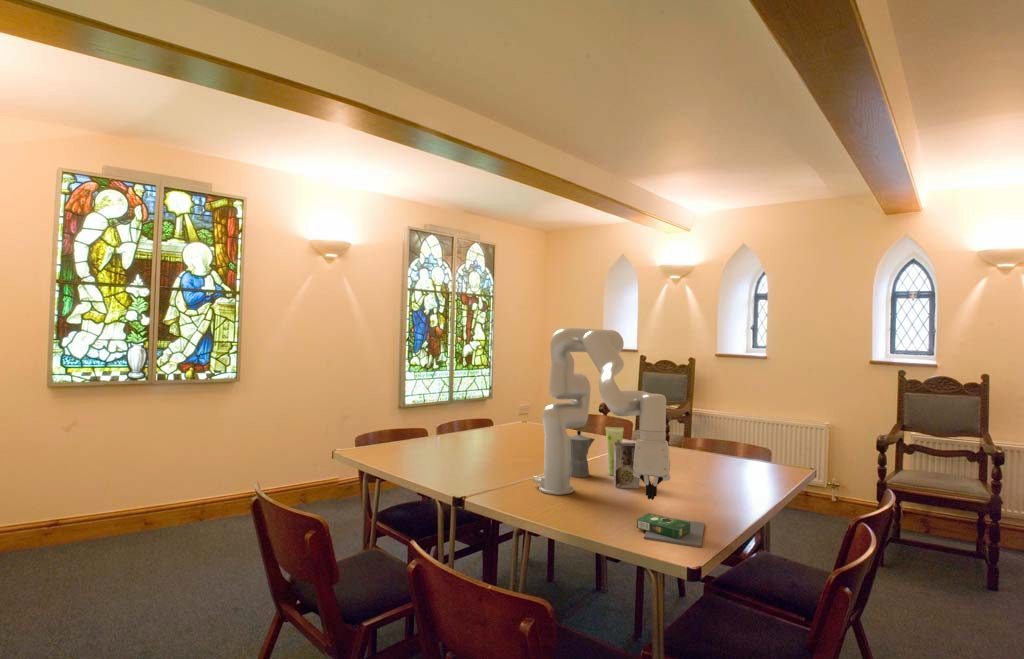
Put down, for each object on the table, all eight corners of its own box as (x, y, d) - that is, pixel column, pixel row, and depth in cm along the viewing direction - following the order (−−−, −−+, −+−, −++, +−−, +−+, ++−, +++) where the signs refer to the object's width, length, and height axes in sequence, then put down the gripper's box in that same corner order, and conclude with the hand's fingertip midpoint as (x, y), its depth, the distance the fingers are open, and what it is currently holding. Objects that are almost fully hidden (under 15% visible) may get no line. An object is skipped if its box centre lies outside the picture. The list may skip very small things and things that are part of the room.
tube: (611, 476, 221) (612, 428, 222) (604, 473, 226) (605, 426, 226) (622, 475, 224) (623, 427, 224) (615, 472, 228) (616, 425, 229)
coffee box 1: (637, 484, 210) (638, 442, 210) (639, 489, 203) (640, 445, 204) (613, 483, 211) (614, 441, 211) (614, 487, 204) (615, 444, 205)
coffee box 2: (635, 529, 158) (679, 540, 149) (635, 518, 158) (679, 529, 150) (648, 521, 164) (690, 532, 156) (648, 512, 164) (691, 522, 156)
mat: (643, 538, 151) (643, 536, 151) (653, 517, 170) (653, 515, 170) (701, 547, 146) (701, 545, 146) (704, 524, 164) (704, 522, 164)
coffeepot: (591, 472, 228) (592, 429, 228) (596, 478, 218) (597, 432, 219) (554, 471, 227) (556, 428, 227) (558, 477, 217) (559, 432, 218)
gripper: (624, 435, 160) (623, 498, 160) (677, 440, 155) (676, 505, 154) (629, 431, 167) (627, 492, 167) (679, 436, 162) (678, 498, 161)
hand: (651, 498), depth 161 cm, fingers closed
